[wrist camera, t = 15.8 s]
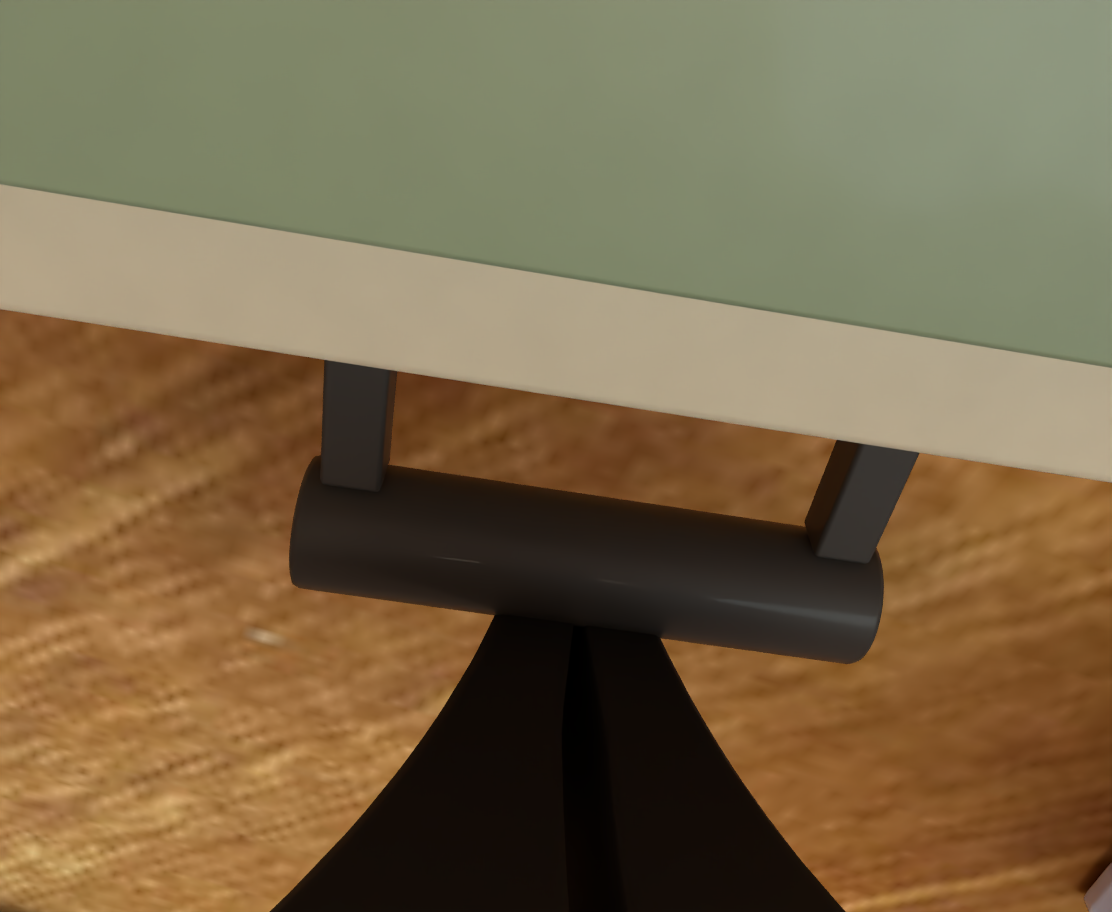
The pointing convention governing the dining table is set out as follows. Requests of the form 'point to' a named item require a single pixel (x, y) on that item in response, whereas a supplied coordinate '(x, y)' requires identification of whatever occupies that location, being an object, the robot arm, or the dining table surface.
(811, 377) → the drawer
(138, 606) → the dining table surface
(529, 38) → the cabinet
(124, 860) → the dining table surface
